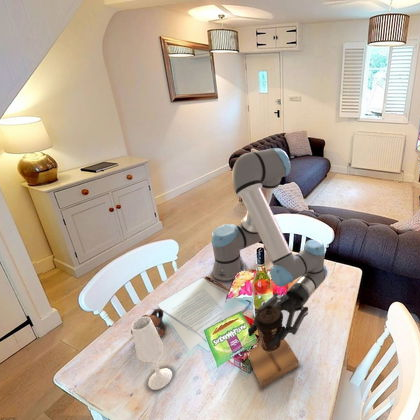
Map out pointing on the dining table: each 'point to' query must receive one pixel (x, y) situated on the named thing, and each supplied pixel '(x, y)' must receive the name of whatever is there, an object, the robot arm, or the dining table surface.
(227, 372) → the dining table surface
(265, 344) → the coffee cup
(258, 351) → the cardboard box
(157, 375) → the champagne flute
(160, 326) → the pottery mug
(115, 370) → the dining table surface
